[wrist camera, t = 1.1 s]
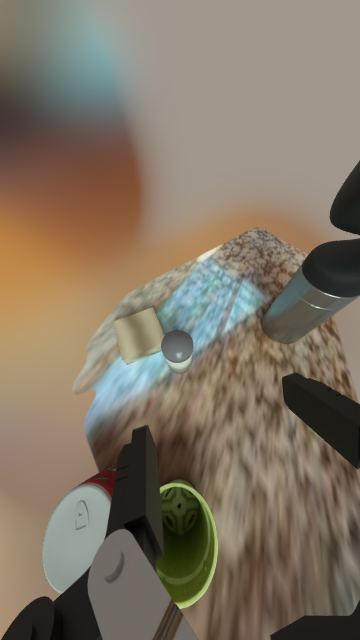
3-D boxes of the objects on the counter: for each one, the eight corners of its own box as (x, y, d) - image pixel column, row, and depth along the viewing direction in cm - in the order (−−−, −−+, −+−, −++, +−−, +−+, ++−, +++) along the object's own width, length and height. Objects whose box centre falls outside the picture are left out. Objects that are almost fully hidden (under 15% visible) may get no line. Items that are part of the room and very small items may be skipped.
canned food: (127, 452, 30) (99, 468, 21) (148, 506, 27) (126, 554, 17) (85, 484, 28) (34, 516, 19) (102, 545, 25) (50, 623, 15)
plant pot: (185, 572, 23) (183, 644, 16) (136, 511, 27) (117, 547, 19) (220, 498, 27) (233, 529, 19) (174, 452, 30) (170, 463, 23)
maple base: (155, 314, 45) (152, 307, 42) (168, 347, 40) (167, 341, 37) (117, 328, 43) (112, 321, 40) (127, 364, 38) (122, 360, 35)
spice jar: (185, 345, 40) (185, 325, 31) (196, 367, 37) (198, 352, 29) (163, 355, 39) (156, 337, 30) (172, 378, 36) (167, 366, 28)
